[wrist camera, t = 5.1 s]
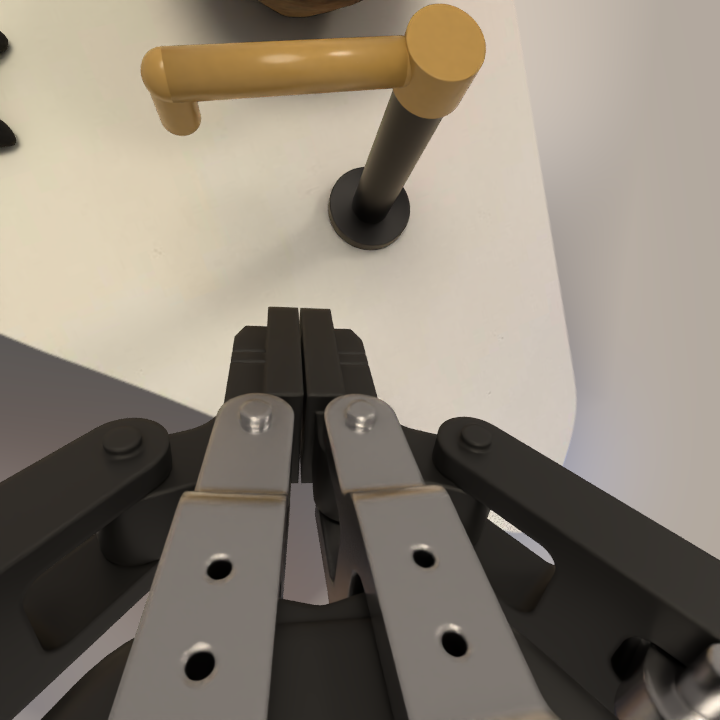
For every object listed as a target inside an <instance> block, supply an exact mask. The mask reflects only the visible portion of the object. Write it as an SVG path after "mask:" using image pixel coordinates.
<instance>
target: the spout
mask: <svg viewBox="0 0 720 720" xmlns="http://www.w3.org/2000/svg"><path fill="white" fill-rule="evenodd" d="M485 53H486V45H485V39H484V36H483V33H482V31H481V29H480V27H479V26H478V24H477V23H476V22H475V20H474V19H473V18H472V17H471V16H469V15H468V14H467V13H466V12H464V11H463V10H461V9H459V8H457V7H454V6H451V5H447V4H432V5H428V6H426V7H424V8H422V9H420V10H419V11H418V12H416V13H415V14H414V15H413V17H412V18H411V20H410V21H409V24H408V26H407V29H406V32H405V35H404V36H402V35H397V36H375V37H353V38H331V39H309V40H287V41H265V42H243V43H221V44H199V45H177V46H160V47H155V48H153V49H151V50H149V51H148V52H147V53H146V54H145V56H144V57H143V60H142V63H141V76H142V80H143V82H144V84H145V86H146V88H147V89H148V91H149V92H150V94H151V97H152V99H153V102H154V105H155V107H156V110H157V112H158V115H159V117H160V120H161V122H162V125H163V126H164V127H165V129H166V130H168V131H169V132H171V133H172V134H175V135H179V136H186V135H190V134H192V133H194V132H195V131H196V130H197V129H198V127H199V125H200V123H201V114H200V110H199V106H198V101H213V100H228V99H242V98H257V97H272V96H287V95H302V94H317V93H331V92H346V91H361V90H376V89H391V88H393V91H394V94H395V96H396V98H397V99H398V101H399V102H400V104H401V105H402V106H403V107H404V108H405V109H407V110H408V111H409V112H411V113H412V114H414V115H416V116H419V117H422V118H427V119H436V118H441V117H444V116H446V115H448V114H450V113H451V112H452V111H454V110H455V109H456V107H457V106H458V104H459V103H460V101H461V99H462V98H463V96H464V94H465V93H466V91H467V89H468V88H469V86H470V84H471V83H472V81H473V79H474V78H475V76H476V74H477V73H478V71H479V69H480V68H481V66H482V64H483V62H484V59H485Z"/></svg>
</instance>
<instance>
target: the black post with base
mask: <svg viewBox="0 0 720 720" xmlns="http://www.w3.org/2000/svg"><path fill="white" fill-rule="evenodd" d="M442 118H443V117H441V118H436V119H427V118H422V117H419V116H416V115H414V114H412V113H411V112H409V111H408V110H407V109H405V108H404V107H403V106H402V105H401V104H400V102H399V101H398V99H397V98H396V96H395V94H394V91H392V94H391V97H390V100H389V102H388V105H387V108H386V110H385V113H384V116H383V119H382V121H381V124H380V127H379V129H378V132H377V135H376V138H375V140H374V143H373V146H372V148H371V151H370V154H369V157H368V159H367V162H366V165H365V167H360V168H356V169H353V170H351V171H348V172H347V173H345V174H344V175H343V176H341V177H340V178H339V179H338V181H337V182H336V183H335V185H334V187H333V189H332V192H331V195H330V199H329V205H328V212H329V218H330V221H331V224H332V226H333V228H334V229H335V231H336V232H337V234H338V235H339V236H340V237H341V238H342V239H343V240H344V241H346V242H347V243H349V244H350V245H352V246H354V247H357V248H360V249H365V250H376V249H381V248H384V247H386V246H388V245H390V244H391V243H393V242H394V241H395V240H396V239H397V238H398V237H399V236H400V235H401V233H402V232H403V230H404V229H405V227H406V225H407V223H408V220H409V215H410V204H409V199H408V196H407V193H406V191H405V189H404V188H403V186H404V184H405V182H406V181H407V179H408V177H409V175H410V174H411V172H412V170H413V168H414V167H415V165H416V163H417V161H418V160H419V158H420V156H421V154H422V153H423V151H424V149H425V147H426V146H427V144H428V142H429V140H430V139H431V137H432V135H433V133H434V132H435V130H436V128H437V126H438V125H439V123H440V121H441V119H442Z"/></svg>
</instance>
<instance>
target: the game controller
mask: <svg viewBox="0 0 720 720" xmlns="http://www.w3.org/2000/svg"><path fill="white" fill-rule="evenodd" d="M7 47H8V39H7V38H6V36H5V35H4V34H3V33H2V32H1V31H0V53H1V52H3V51H5V50H6V49H7ZM15 143H16V137H15V135H14V133H13V132H12V130H11V129H10V128H9V127H8V125H7V124H6V123H4V122H3V121H2V120H0V147H5V146H12V145H15Z"/></svg>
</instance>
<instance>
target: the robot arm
mask: <svg viewBox="0 0 720 720" xmlns="http://www.w3.org/2000/svg"><path fill="white" fill-rule="evenodd" d="M299 461H300V463H301V483H313V495H314V501H315V504H316V508H315V517H316V523H317V529H318V535H319V542H320V548H321V554H322V560H323V566H324V572H325V578H326V584H327V590H328V599H329V604H326V605H312V604H306V603H301V602H296V601H290V600H285V599H283V591H284V578H285V565H286V552H287V539H288V526H289V511H290V491H291V483H298V476H299ZM490 510H492V511H494V512H495V513H496V514H498V515H499V516H501V517H502V518H503V519H505V520H506V521H508V522H509V523H510V524H512V525H513V526H515V527H516V528H517V529H519V530H520V531H522V532H523V533H525V534H526V535H527V536H529V537H530V538H532V539H533V540H534V541H536V542H537V543H539V544H540V545H541V546H543V547H544V548H545V549H546V550H547V551H548V553H549V554H550V555H551V557H552V558H553V560H554V563H555V565H552V564H550V563H548V562H546V561H545V560H543V559H542V558H541V557H539V556H538V555H536V554H535V553H534V552H532V551H531V550H529V549H528V548H527V547H525V546H524V545H523V544H521V543H520V542H519V541H517V540H516V539H514V538H513V537H512V536H510V535H509V534H508V533H506V532H505V531H503V530H502V529H501V528H499V527H498V526H497V525H495V524H494V523H492V522H491V521H490V520H488V519H487V517H488V515H489V512H490ZM149 591H150V592H149ZM148 592H149V595H148V598H147V601H146V604H145V607H144V610H143V613H142V616H141V620H140V623H139V626H138V629H137V632H136V635H135V638H133V639H131V640H130V641H128V642H126V643H125V644H123V645H122V646H120V647H119V648H117V649H116V650H114V651H113V652H112V653H110V654H109V655H107V656H106V657H105V658H104V659H103V660H101V661H100V662H99V663H98V664H97V665H95V666H94V667H93V668H92V669H91V670H89V671H88V672H87V673H86V674H85V675H84V676H83V677H82V678H81V679H80V680H79V681H78V682H77V683H76V684H75V685H74V686H73V687H72V688H71V689H70V690H69V691H68V692H67V693H66V694H65V695H64V696H63V697H62V698H61V699H60V700H59V701H58V702H57V704H56V705H55V706H54V707H53V708H52V709H51V710H50V711H49V712H48V713H47V714H46V715H45V716H44V717H43V718H42V719H41V720H720V560H718V559H716V558H715V557H713V556H711V555H710V554H708V553H706V552H705V551H703V550H701V549H700V548H698V547H696V546H695V545H693V544H692V543H690V542H688V541H687V540H685V539H683V538H682V537H680V536H678V535H677V534H675V533H673V532H671V531H670V530H668V529H666V528H665V527H663V526H661V525H659V524H658V523H656V522H655V521H653V520H651V519H650V518H648V517H646V516H644V515H643V514H641V513H640V512H638V511H636V510H635V509H633V508H631V507H629V506H628V505H626V504H625V503H623V502H621V501H620V500H618V499H616V498H615V497H613V496H611V495H610V494H608V493H606V492H604V491H603V490H601V489H599V488H598V487H596V486H594V485H593V484H591V483H589V482H588V481H586V480H584V479H583V478H581V477H579V476H578V475H576V474H574V473H573V472H571V471H569V470H567V469H566V468H564V467H563V466H561V465H559V464H558V463H556V462H554V461H553V460H551V459H549V458H548V457H546V456H544V455H543V454H541V453H539V452H538V451H536V450H534V449H532V448H531V447H529V446H527V445H526V444H524V443H522V442H521V441H519V440H517V439H516V438H514V437H512V436H511V435H509V434H507V433H506V432H504V431H502V430H501V429H499V428H497V427H496V426H494V425H492V424H490V423H488V422H486V421H483V420H480V419H477V418H471V417H456V418H452V419H449V420H447V421H445V422H444V423H443V424H442V425H441V426H440V427H439V430H438V434H437V435H436V434H432V433H428V432H423V431H419V430H415V429H411V428H408V427H405V426H402V425H400V423H399V421H398V419H397V416H396V414H395V412H394V410H393V409H392V408H391V407H390V406H389V405H388V404H387V403H385V402H384V401H382V400H380V399H378V398H377V394H376V390H375V387H374V383H373V379H372V376H371V372H370V368H369V366H368V361H367V357H366V355H365V350H364V346H363V342H362V340H361V339H360V338H359V337H358V336H357V335H356V334H355V333H354V332H353V331H352V330H351V329H334V327H333V321H332V316H331V311H330V309H314V308H300V320H299V312H298V308H291V307H268V323H267V326H245V327H244V328H243V329H242V330H241V331H240V332H239V333H238V334H237V335H236V336H235V338H234V344H233V352H232V357H231V363H230V369H229V375H228V382H227V388H226V394H225V400H224V404H223V405H222V406H221V408H220V409H219V411H218V413H217V416H215V417H214V418H213V419H212V420H210V421H209V422H207V423H206V424H203V425H201V426H199V427H197V428H194V429H190V430H186V431H182V432H177V433H173V434H168V432H167V430H166V429H165V428H164V427H163V426H162V425H160V424H159V423H157V422H155V421H152V420H148V419H143V418H126V419H119V420H115V421H111V422H108V423H106V424H103V425H101V426H99V427H97V428H95V429H93V430H92V431H90V432H88V433H86V434H85V435H83V436H81V437H79V438H78V439H76V440H74V441H72V442H71V443H69V444H67V445H65V446H64V447H62V448H60V449H58V450H57V451H55V452H53V453H52V454H49V455H48V456H46V457H44V458H42V459H41V460H39V461H38V462H35V463H34V464H32V465H30V466H28V467H27V468H25V469H23V470H22V471H20V472H18V473H16V474H14V475H13V476H11V477H9V478H7V479H6V480H4V481H2V482H1V483H0V720H12V719H13V718H14V717H15V716H16V715H17V714H18V713H19V712H20V711H21V710H23V709H24V708H25V707H26V706H27V705H28V704H29V703H30V702H31V701H32V700H33V699H34V698H35V697H36V696H38V695H39V694H40V693H41V692H42V691H43V690H44V689H45V688H46V687H47V686H48V685H49V684H50V683H51V682H53V680H55V679H56V678H57V677H58V676H59V675H60V674H61V673H62V672H63V671H64V670H65V669H66V668H67V667H68V666H69V665H71V664H72V663H73V662H74V661H75V660H76V659H77V658H78V657H79V656H80V655H81V654H82V653H83V652H85V650H87V649H88V648H89V647H90V646H91V645H92V644H93V643H94V642H95V641H96V640H97V639H98V638H99V637H101V636H102V635H103V634H104V633H105V632H106V631H107V630H108V629H109V628H110V627H111V626H112V625H113V624H114V623H115V622H117V620H119V619H120V618H121V617H122V616H123V615H124V614H125V613H126V612H127V611H128V610H129V609H130V608H132V606H134V605H135V604H136V603H137V602H138V601H139V600H140V599H141V598H142V597H143V596H144V595H145V594H146V593H148Z"/></svg>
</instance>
